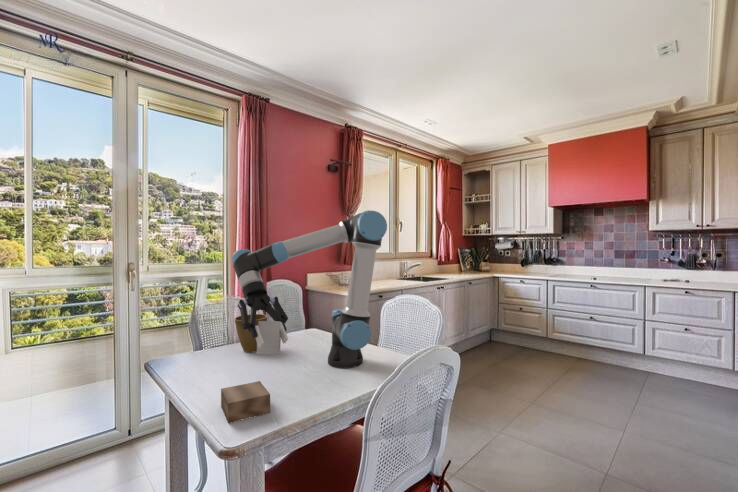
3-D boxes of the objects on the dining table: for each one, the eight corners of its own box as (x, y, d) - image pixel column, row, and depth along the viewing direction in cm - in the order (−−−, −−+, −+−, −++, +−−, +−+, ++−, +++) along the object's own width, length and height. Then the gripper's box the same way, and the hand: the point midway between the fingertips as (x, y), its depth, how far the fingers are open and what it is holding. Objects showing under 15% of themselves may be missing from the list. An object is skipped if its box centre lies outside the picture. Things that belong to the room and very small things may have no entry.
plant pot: (254, 344, 182) (254, 312, 182) (273, 349, 173) (273, 316, 173) (228, 351, 170) (228, 317, 170) (247, 357, 161) (247, 321, 161)
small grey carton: (278, 353, 113) (279, 322, 113) (256, 354, 113) (257, 322, 113) (280, 350, 117) (280, 320, 117) (259, 350, 117) (259, 319, 116)
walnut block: (259, 399, 118) (259, 381, 118) (270, 413, 108) (270, 394, 108) (221, 407, 112) (221, 388, 112) (228, 424, 102) (228, 403, 102)
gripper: (276, 291, 133) (297, 344, 121) (220, 296, 119) (238, 356, 107) (283, 278, 129) (306, 331, 117) (226, 281, 115) (246, 342, 104)
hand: (273, 343), depth 112 cm, fingers closed on small grey carton, 8 cm apart
